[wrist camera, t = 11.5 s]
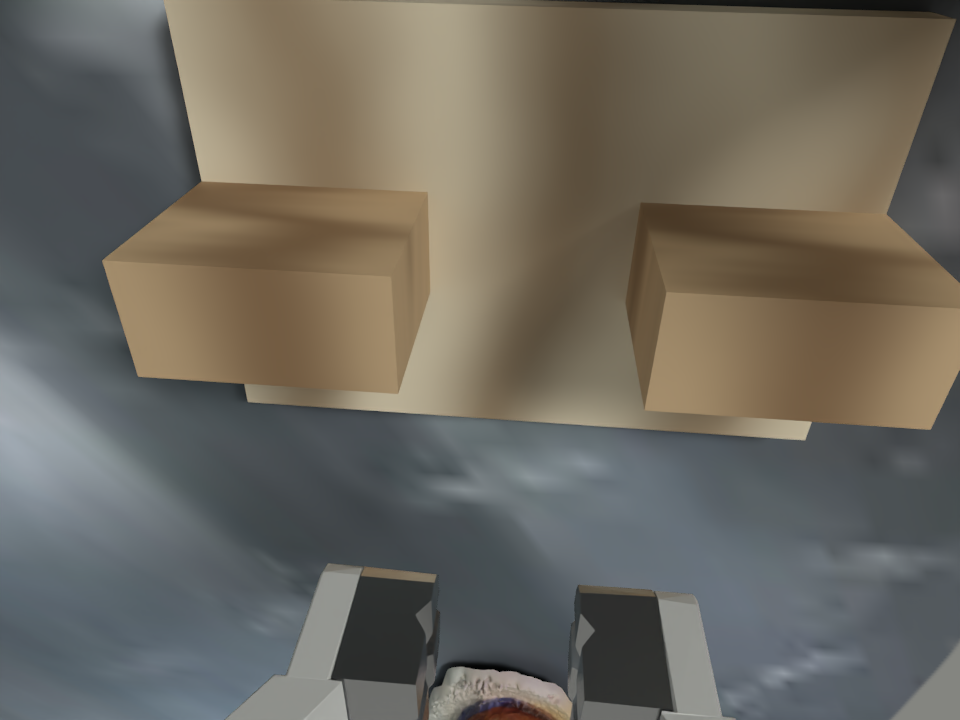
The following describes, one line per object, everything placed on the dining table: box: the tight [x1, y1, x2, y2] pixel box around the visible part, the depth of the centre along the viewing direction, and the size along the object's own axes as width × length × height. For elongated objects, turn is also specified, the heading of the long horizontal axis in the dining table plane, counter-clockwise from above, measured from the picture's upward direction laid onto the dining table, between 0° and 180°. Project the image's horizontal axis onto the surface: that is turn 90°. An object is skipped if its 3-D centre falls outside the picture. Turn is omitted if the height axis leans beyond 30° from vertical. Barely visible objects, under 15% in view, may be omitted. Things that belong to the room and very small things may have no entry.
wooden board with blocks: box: [102, 0, 960, 440], centre depth 18 cm, size 18×12×6 cm, turn 89°
